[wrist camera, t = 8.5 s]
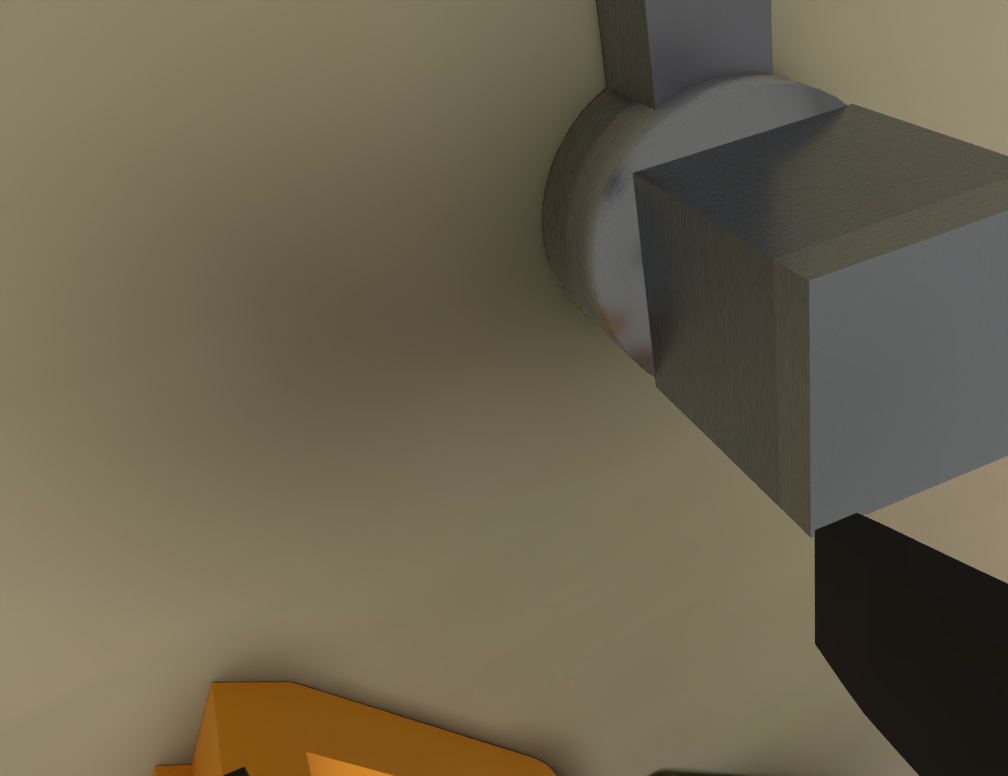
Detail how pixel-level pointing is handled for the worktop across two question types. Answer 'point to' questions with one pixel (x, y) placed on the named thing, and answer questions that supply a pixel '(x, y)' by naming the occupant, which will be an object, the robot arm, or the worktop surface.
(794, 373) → the grey brushed cube
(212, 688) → the bracket
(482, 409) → the worktop surface
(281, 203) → the worktop surface
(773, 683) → the worktop surface
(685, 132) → the ratchet
